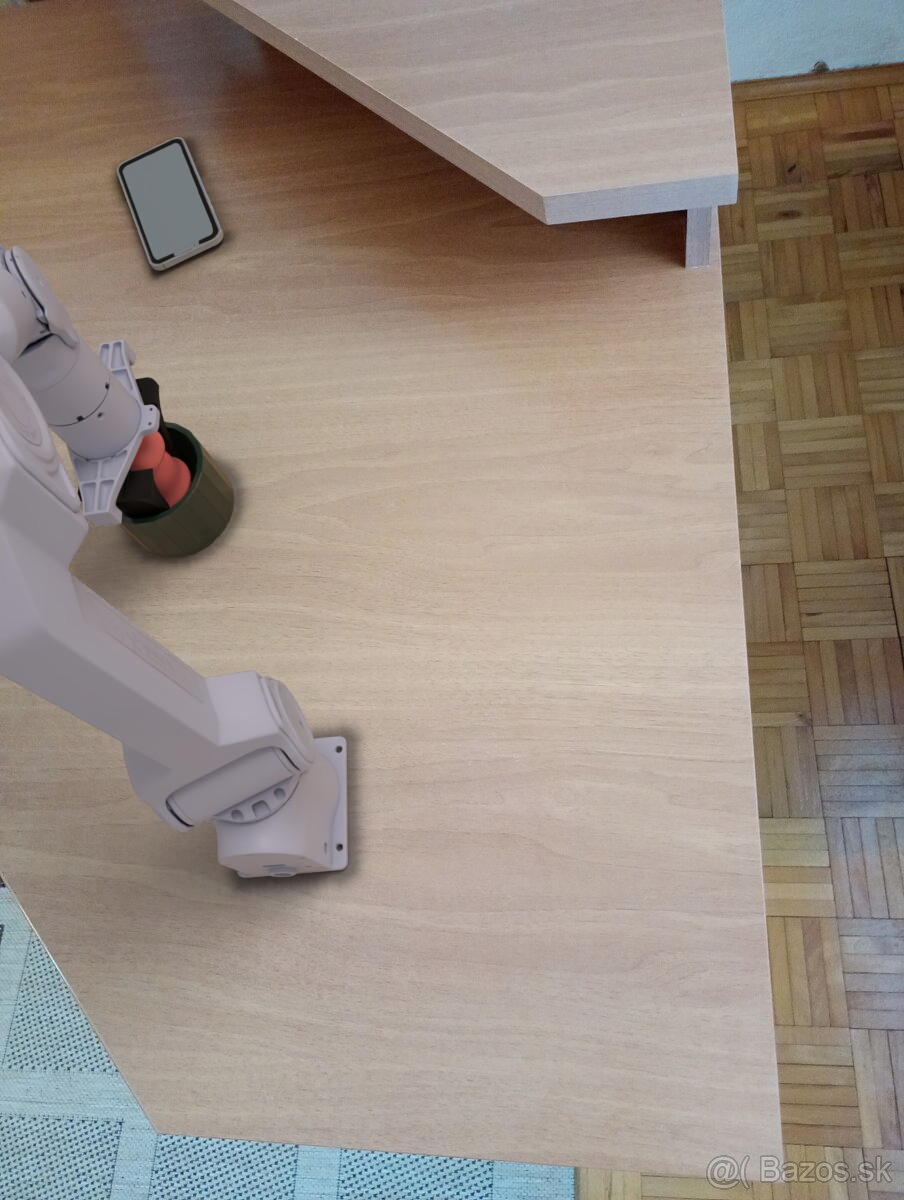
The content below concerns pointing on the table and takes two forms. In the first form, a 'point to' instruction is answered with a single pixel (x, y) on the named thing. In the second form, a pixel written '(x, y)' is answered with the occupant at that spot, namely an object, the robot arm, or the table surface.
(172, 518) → the cup
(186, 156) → the smartphone
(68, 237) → the table surface
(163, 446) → the figurine
